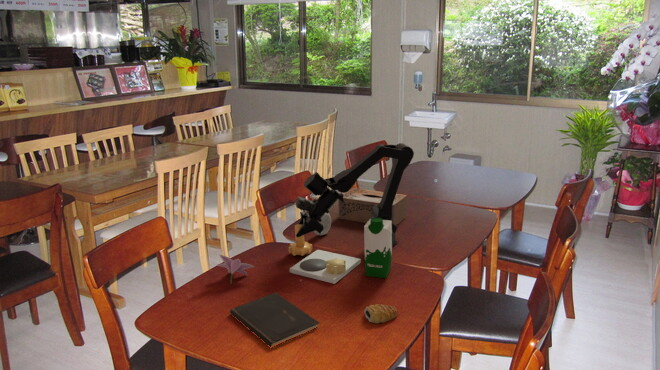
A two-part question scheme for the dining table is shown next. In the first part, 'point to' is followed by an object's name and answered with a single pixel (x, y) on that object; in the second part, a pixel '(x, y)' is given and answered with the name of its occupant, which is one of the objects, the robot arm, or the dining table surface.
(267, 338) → the hardcover book
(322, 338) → the dining table surface
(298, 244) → the planet gear
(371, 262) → the milk carton
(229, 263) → the lily
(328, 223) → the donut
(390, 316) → the pastry
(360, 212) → the tissue box cover
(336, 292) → the dining table surface
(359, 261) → the carrier plate
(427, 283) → the dining table surface
